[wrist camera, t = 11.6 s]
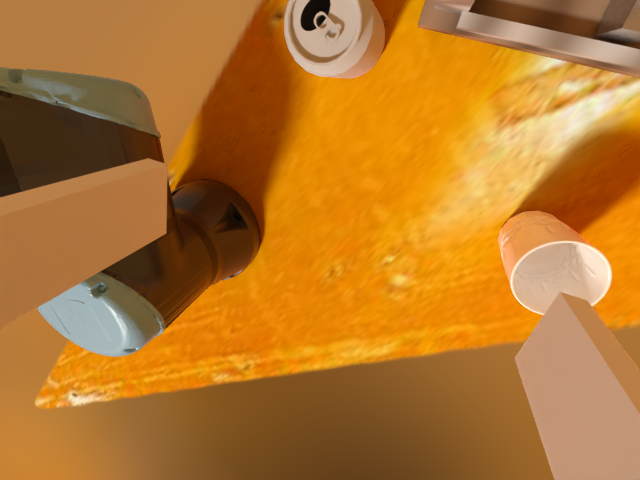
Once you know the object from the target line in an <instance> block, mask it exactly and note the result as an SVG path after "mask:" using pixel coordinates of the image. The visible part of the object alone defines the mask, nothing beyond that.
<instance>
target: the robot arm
mask: <svg viewBox="0 0 640 480" xmlns="http://www.w3.org/2000/svg"><path fill="white" fill-rule="evenodd" d="M159 138H161V135H160V132H158V131H157V127H156V124H155V120H154V117H153V114H152V110H151V106H150V103H149V100H148V98H147V96H146V95H145V94H144V92H142V91H141V90H140V89H139V88H138V87H136V86H135V85H133V84H130V83H128V82H124V81H120V80H115V79H109V78H104V77H96V76H89V75H83V74H74V73H66V72H55V71H46V70H33V69H27V70H23V69H10V68H4V67H0V329H1V328H3V327H4V326H6V325H8V324H10V323H11V322H13V321H15V320H17V319H18V318H20V317H22V316H24V315H25V314H27V313H29V312H31V311H32V310H34V309H36V308H37V309H38V310H39V311H40V313H41V314H42V316H43V317H44V318H45V319H46V320H47V321H48V322H49V323H50V324H51V325H52V326H53V327H54V328H55V329H56V330H57V331H58V332H60V333H61V334H62V335H63V336H65V337H66V338H68V339H69V340H71V341H72V342H73V343H75V344H77V345H79V346H80V347H82V348H84V349H87V350H89V351H92V352H94V353H97V354H101V355H106V356H125V355H129V354H132V353H134V352H136V351H138V350H140V349H141V348H142V347H143V346H145V345H146V344H147V343H148V342H150V341H151V340H152V339H153V338H154V337H156V336H159V335H160V334H161V333H162V332H164V330H165V329H166V328H167V327H168V326H169V325H170V324H171V323H172V322H173V321H174V320H175V319H176V318H177V317H178V316H179V315H180V314H181V313H182V312H183V311H184V310H185V309H186V308H187V307H188V306H189V305H190V304H191V303H192V302H194V301H195V300H196V299H197V298H198V297H199V296H200V295H201V294H202V293H203V292H204V291H205V290H206V289H207V288H208V287H209V286H210V285H212V284H215V283H217V282H219V281H221V280H226V279H230V278H232V277H235V276H237V275H238V274H240V273H241V272H242V271H244V270H245V269H246V268H247V267H248V266H249V265H250V264H251V262H252V261H253V260H254V258H255V257H256V255H257V252H258V249H259V244H260V232H259V227H258V223H257V220H256V217H255V215H254V213H253V211H252V210H251V208H250V206H249V205H248V204H247V202H246V201H245V200H244V199H243V198H242V197H241V196H240V195H239V194H238V193H237V192H235V191H234V190H233V189H231V188H230V187H228V186H226V185H224V184H222V183H219V182H216V181H212V180H195V181H192V182H189V183H187V184H184V185H182V186H180V187H178V188H176V189H175V190H173V191H172V192H171V190H170V185H169V181H168V176H167V164H165V163H164V158H163V154H162V149H161V144H160V139H159ZM515 361H516V364H517V367H518V370H519V373H520V376H521V379H522V382H523V385H524V388H525V391H526V394H527V397H528V400H529V404H530V407H531V409H532V413H533V416H534V419H535V422H536V425H537V428H538V431H539V434H540V437H541V440H542V443H543V446H544V449H545V452H546V455H547V458H548V461H549V464H550V467H551V470H552V474H553V476H554V479H555V480H640V370H639V369H638V367H637V366H636V365H635V363H634V362H633V361H632V359H631V358H630V357H629V355H628V354H627V353H626V351H625V350H624V349H623V347H622V346H621V345H620V343H619V342H618V341H617V339H616V338H615V337H614V335H613V334H612V333H611V331H610V330H609V329H608V327H607V326H606V325H605V323H604V322H603V321H602V319H601V318H600V317H599V315H598V314H597V313H596V311H595V310H594V309H593V307H592V306H591V305H590V303H589V302H588V301H587V300H584V299H581V298H578V297H575V296H571V295H568V294H565V293H562V292H559V294H558V295H557V297H556V298H555V300H554V301H553V302H552V304H551V305H550V307H549V308H548V310H547V311H546V313H545V314H544V316H543V317H542V319H541V320H540V322H539V323H538V324H537V326H536V327H535V329H534V330H533V332H532V333H531V335H530V336H529V338H528V339H527V341H526V342H525V344H524V345H523V347H522V348H521V349H520V351H519V352H518V354H517V356H516V357H515Z"/></svg>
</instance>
